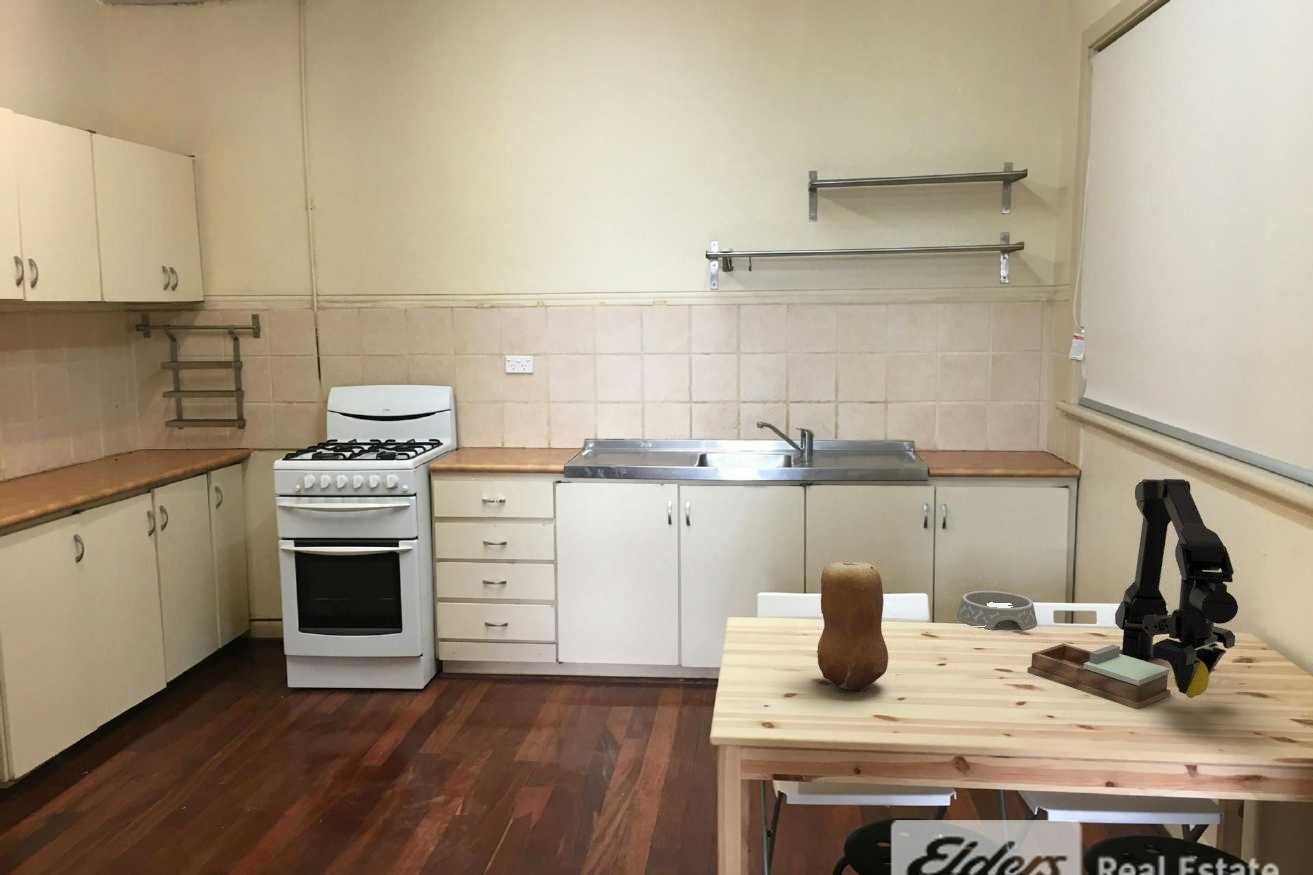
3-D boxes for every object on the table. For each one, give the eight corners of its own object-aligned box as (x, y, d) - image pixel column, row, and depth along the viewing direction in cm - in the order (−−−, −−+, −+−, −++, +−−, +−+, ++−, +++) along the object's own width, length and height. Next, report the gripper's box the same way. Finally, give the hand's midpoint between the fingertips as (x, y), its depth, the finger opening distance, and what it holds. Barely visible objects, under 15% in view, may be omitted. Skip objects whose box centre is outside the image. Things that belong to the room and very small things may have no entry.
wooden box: (1027, 672, 203) (1028, 653, 202) (1061, 660, 209) (1062, 642, 209) (1136, 708, 184) (1138, 688, 183) (1170, 694, 191) (1171, 674, 190)
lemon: (1199, 692, 184) (1202, 651, 183) (1212, 704, 179) (1216, 661, 178) (1168, 691, 185) (1171, 650, 184) (1180, 703, 179) (1183, 660, 178)
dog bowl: (948, 609, 246) (949, 588, 246) (1023, 610, 246) (1024, 589, 245) (967, 631, 229) (968, 608, 229) (1048, 632, 229) (1049, 609, 228)
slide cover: (1083, 668, 193) (1084, 653, 192) (1114, 657, 199) (1115, 642, 199) (1138, 685, 184) (1139, 670, 183) (1169, 673, 190) (1170, 658, 190)
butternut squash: (842, 670, 203) (846, 550, 200) (900, 687, 194) (904, 562, 191) (801, 687, 194) (804, 562, 190) (859, 707, 184) (863, 575, 181)
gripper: (1178, 588, 191) (1172, 665, 193) (1126, 604, 181) (1120, 686, 183) (1239, 602, 182) (1232, 683, 184) (1188, 619, 172) (1181, 706, 174)
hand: (1190, 689), depth 182 cm, fingers closed on lemon, 5 cm apart
